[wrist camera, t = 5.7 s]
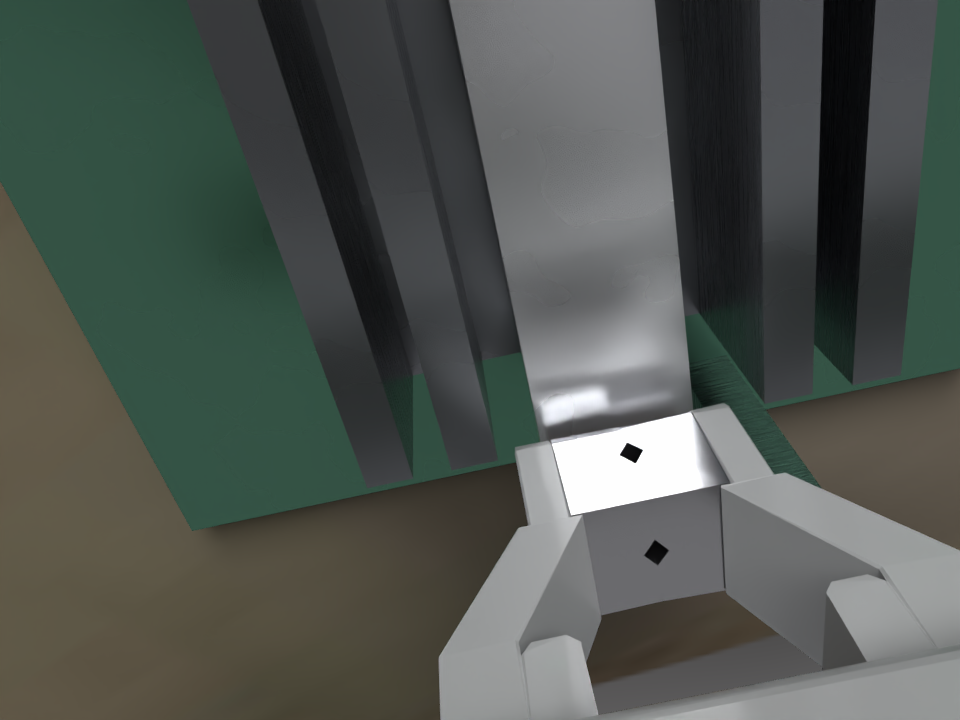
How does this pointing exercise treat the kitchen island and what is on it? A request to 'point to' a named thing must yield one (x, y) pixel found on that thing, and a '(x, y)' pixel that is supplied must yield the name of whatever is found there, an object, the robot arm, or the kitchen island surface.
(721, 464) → the robot arm
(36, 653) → the kitchen island surface
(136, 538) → the kitchen island surface
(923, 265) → the circuit board
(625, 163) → the white strip
